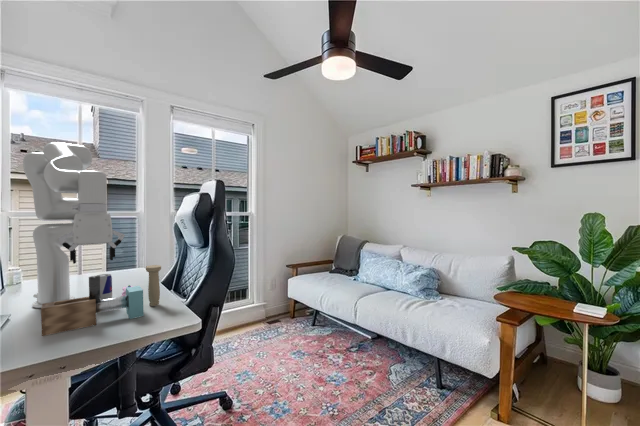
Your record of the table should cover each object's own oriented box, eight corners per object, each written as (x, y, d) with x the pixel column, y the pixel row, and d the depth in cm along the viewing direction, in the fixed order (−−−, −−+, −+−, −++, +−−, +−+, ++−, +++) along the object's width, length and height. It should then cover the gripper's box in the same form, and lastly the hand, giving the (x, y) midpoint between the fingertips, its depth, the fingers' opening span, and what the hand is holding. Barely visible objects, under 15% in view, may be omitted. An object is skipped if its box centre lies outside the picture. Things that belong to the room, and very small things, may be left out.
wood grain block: (41, 336, 88) (41, 308, 88) (43, 329, 93) (42, 303, 92) (96, 324, 96) (95, 299, 96) (95, 319, 101) (94, 295, 101)
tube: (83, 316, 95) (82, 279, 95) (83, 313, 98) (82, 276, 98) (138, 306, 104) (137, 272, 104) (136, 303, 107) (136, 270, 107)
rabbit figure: (139, 303, 123) (136, 289, 135) (139, 289, 122) (136, 276, 134) (121, 306, 119) (119, 291, 131) (121, 292, 118) (119, 278, 130)
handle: (150, 308, 111) (149, 268, 111) (144, 305, 116) (144, 266, 115) (163, 305, 115) (163, 266, 114) (158, 302, 119) (157, 264, 119)
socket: (129, 318, 101) (129, 292, 101) (126, 312, 107) (125, 287, 107) (143, 316, 104) (143, 290, 103) (139, 310, 110) (139, 285, 110)
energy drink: (115, 305, 115) (114, 274, 115) (100, 309, 111) (99, 277, 110) (107, 303, 118) (106, 273, 118) (91, 308, 113) (91, 276, 113)
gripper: (57, 209, 89) (58, 266, 90) (125, 209, 100) (126, 260, 101) (58, 208, 95) (58, 262, 96) (122, 208, 106) (123, 256, 107)
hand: (93, 261), depth 98 cm, fingers open, 9 cm apart
